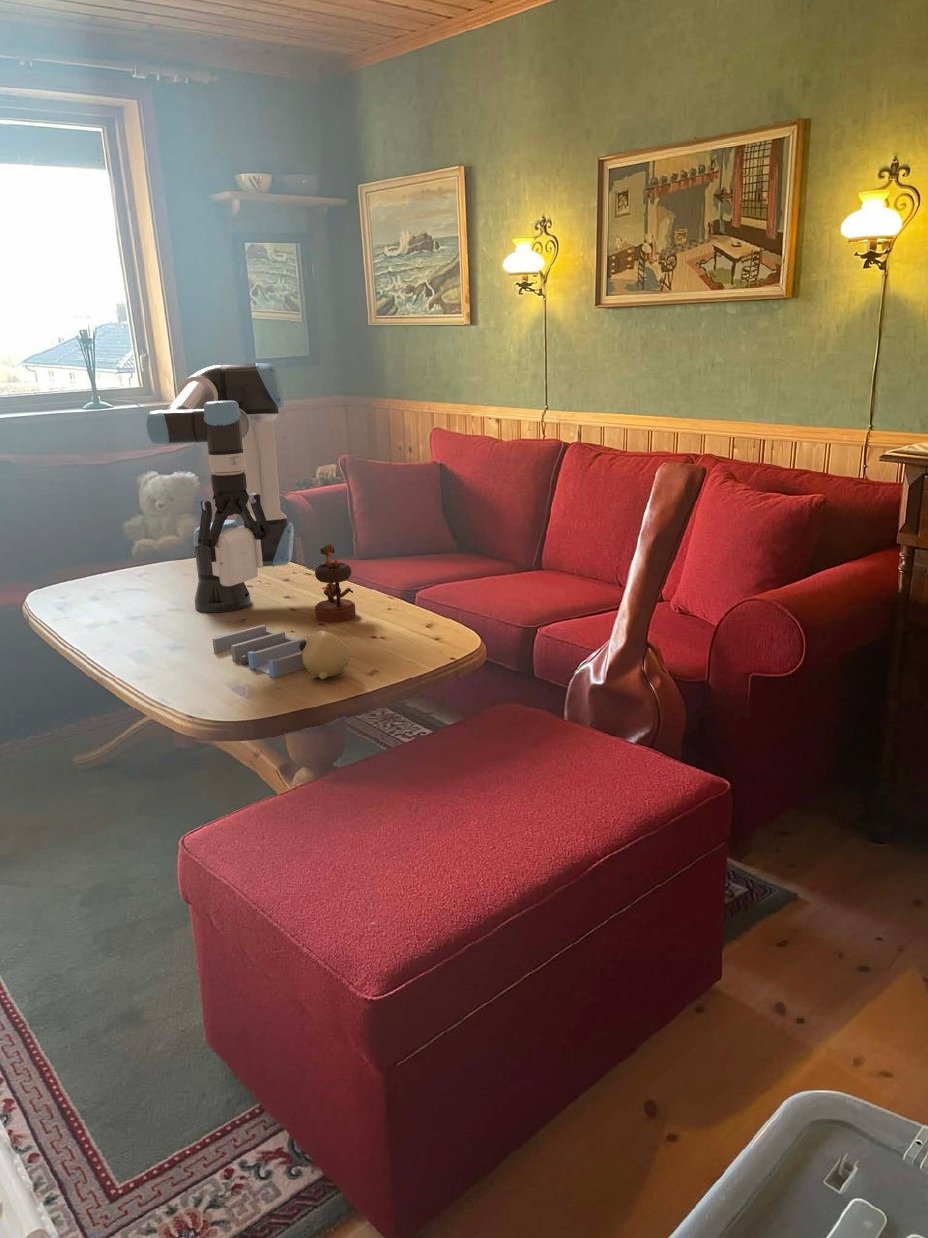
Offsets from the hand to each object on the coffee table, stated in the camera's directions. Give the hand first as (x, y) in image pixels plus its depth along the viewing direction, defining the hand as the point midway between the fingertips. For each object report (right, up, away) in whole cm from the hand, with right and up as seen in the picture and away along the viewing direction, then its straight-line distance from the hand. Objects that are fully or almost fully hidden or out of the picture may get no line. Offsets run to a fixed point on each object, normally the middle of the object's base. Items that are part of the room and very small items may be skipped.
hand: (238, 571), depth 212 cm
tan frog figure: (+21, -24, -10) cm, 33 cm away
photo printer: (0, -3, +1) cm, 3 cm away
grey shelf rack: (+7, -20, +4) cm, 21 cm away
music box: (+18, -11, +33) cm, 39 cm away
